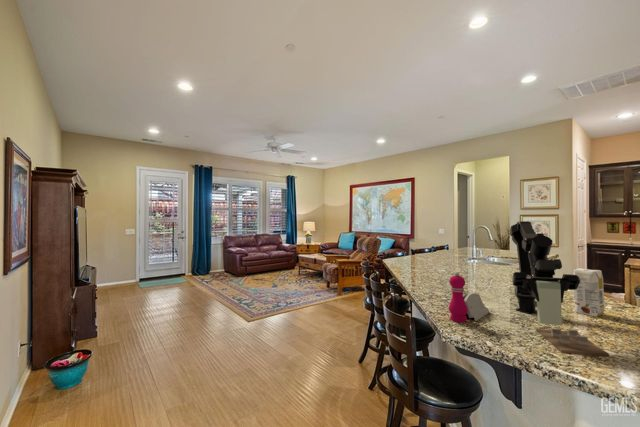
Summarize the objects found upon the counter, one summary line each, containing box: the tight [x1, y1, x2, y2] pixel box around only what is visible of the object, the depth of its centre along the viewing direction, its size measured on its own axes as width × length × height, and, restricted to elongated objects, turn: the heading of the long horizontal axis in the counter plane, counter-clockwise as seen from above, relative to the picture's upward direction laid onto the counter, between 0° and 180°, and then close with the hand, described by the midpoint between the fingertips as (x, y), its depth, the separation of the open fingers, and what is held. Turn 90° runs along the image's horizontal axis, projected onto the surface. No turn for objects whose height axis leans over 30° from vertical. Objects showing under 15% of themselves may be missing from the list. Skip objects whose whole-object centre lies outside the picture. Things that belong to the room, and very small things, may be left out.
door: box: [536, 281, 563, 327], centre depth 99 cm, size 3×6×14 cm, turn 65°
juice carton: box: [572, 267, 605, 318], centre depth 124 cm, size 8×9×19 cm
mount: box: [535, 327, 610, 358], centre depth 97 cm, size 18×12×3 cm, turn 164°
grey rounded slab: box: [463, 292, 490, 322], centre depth 127 cm, size 17×5×10 cm, turn 132°
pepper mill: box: [448, 271, 468, 323], centre depth 120 cm, size 7×7×20 cm
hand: (549, 301), depth 98 cm, fingers closed on door, 6 cm apart
